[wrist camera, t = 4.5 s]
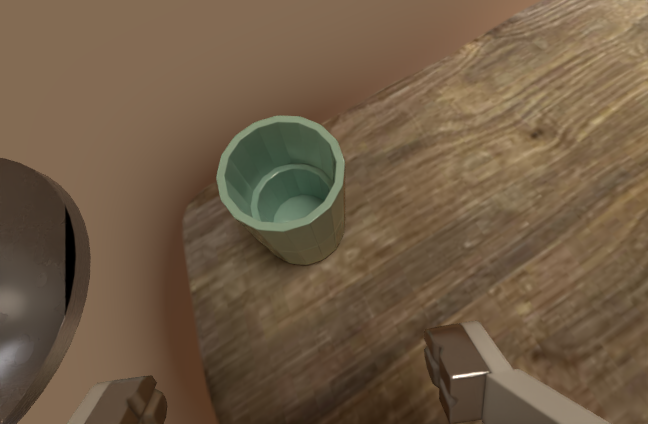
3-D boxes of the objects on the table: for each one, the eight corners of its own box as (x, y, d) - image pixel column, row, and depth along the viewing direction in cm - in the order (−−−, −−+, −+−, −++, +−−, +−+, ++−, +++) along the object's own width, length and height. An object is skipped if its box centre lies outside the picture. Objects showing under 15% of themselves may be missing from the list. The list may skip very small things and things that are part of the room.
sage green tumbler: (275, 276, 21) (230, 248, 13) (257, 202, 24) (207, 135, 15) (355, 251, 22) (362, 207, 13) (330, 179, 24) (322, 101, 15)
